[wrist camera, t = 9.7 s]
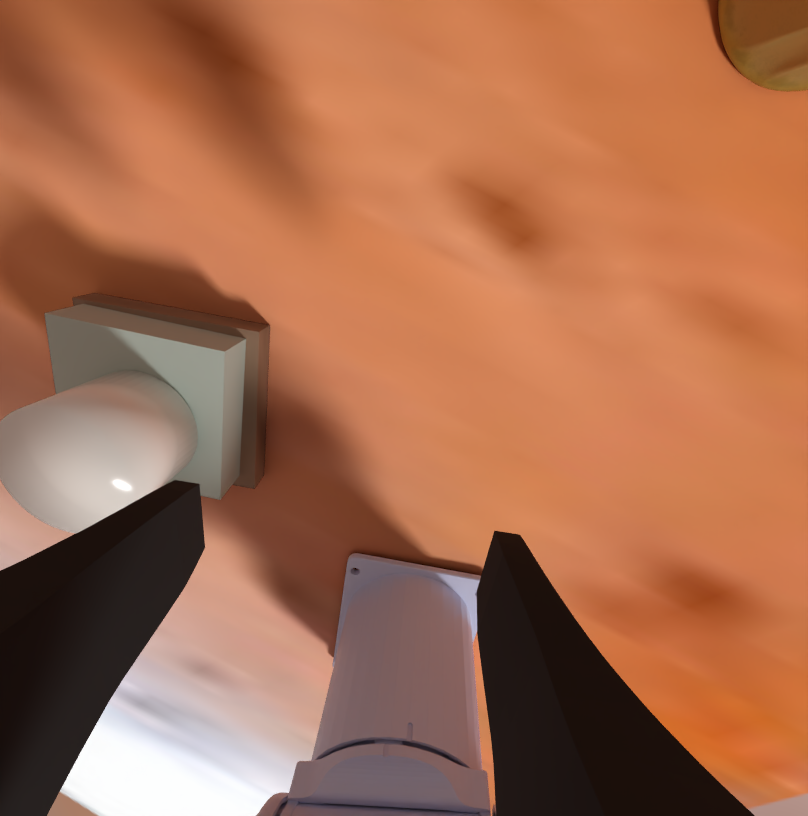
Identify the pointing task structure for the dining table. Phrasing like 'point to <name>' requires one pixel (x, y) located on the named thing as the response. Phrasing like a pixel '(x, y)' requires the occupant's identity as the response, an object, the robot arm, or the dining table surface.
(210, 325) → the tower base
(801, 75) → the vase
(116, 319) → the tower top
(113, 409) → the white rounded dome
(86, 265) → the dining table surface
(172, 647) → the dining table surface
